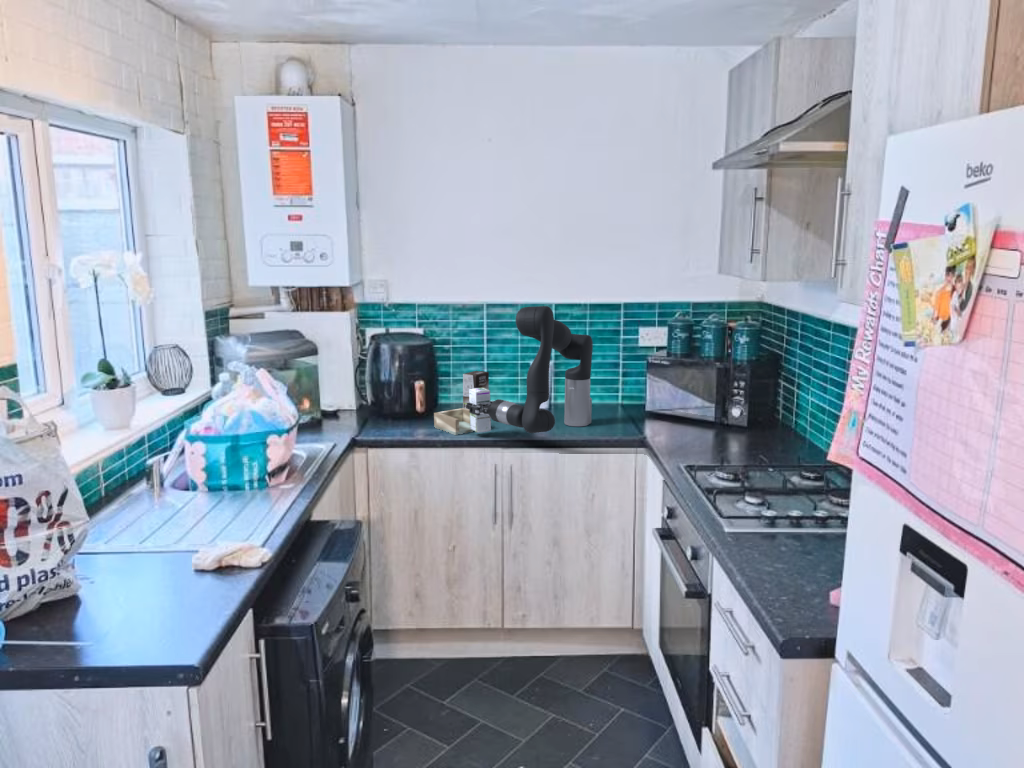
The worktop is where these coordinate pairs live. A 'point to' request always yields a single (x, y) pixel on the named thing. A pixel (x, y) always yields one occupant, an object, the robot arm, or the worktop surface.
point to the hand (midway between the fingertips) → (476, 404)
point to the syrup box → (482, 396)
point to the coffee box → (474, 383)
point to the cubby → (453, 421)
